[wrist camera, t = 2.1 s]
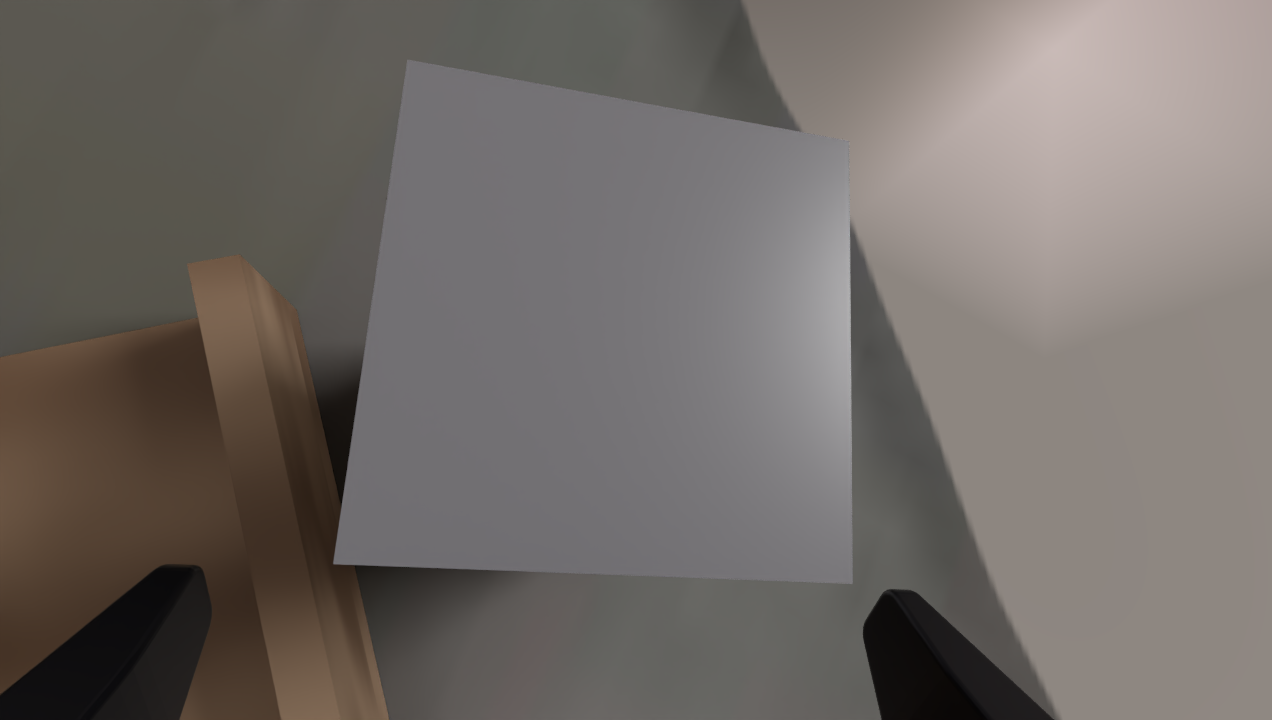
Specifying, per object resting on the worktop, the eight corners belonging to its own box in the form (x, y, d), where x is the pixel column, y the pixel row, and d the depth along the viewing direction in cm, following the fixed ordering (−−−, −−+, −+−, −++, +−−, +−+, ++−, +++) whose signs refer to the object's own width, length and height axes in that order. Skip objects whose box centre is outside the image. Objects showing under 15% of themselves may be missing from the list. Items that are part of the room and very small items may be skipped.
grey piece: (615, 524, 19) (853, 583, 7) (436, 514, 18) (332, 563, 6) (625, 356, 20) (849, 141, 8) (457, 338, 19) (408, 60, 7)
